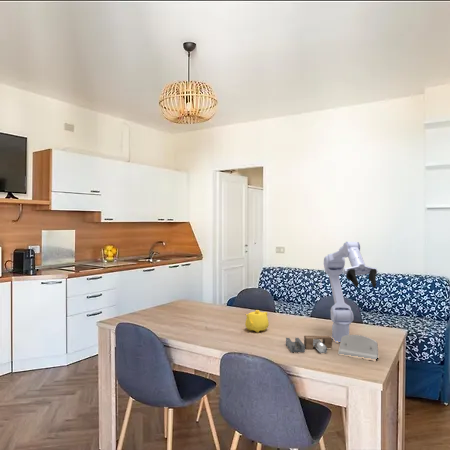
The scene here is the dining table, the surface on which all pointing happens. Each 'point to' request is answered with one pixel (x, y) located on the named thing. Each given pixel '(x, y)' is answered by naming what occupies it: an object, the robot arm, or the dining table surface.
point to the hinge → (358, 346)
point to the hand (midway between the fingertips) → (366, 285)
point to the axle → (319, 346)
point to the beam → (309, 339)
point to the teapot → (257, 321)
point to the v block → (295, 345)
